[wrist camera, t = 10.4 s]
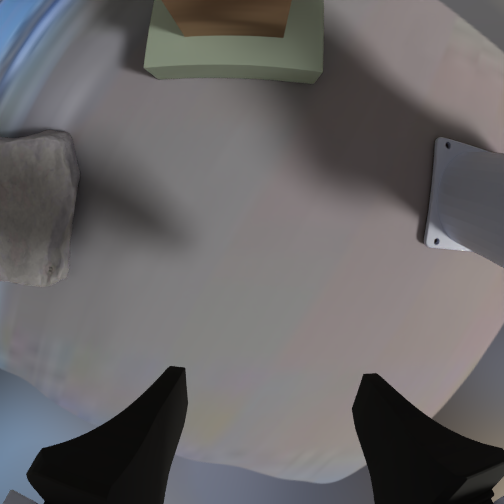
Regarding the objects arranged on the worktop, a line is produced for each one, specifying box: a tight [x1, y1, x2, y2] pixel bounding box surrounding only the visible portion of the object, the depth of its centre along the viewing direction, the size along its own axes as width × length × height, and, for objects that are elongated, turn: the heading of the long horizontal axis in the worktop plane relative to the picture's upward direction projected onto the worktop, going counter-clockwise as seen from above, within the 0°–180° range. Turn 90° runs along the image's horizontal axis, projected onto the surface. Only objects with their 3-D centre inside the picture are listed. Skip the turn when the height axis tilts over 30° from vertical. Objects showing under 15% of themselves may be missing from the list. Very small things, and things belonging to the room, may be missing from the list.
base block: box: [144, 0, 324, 84], centre depth 15 cm, size 10×10×3 cm
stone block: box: [0, 130, 80, 287], centre depth 19 cm, size 12×5×10 cm
